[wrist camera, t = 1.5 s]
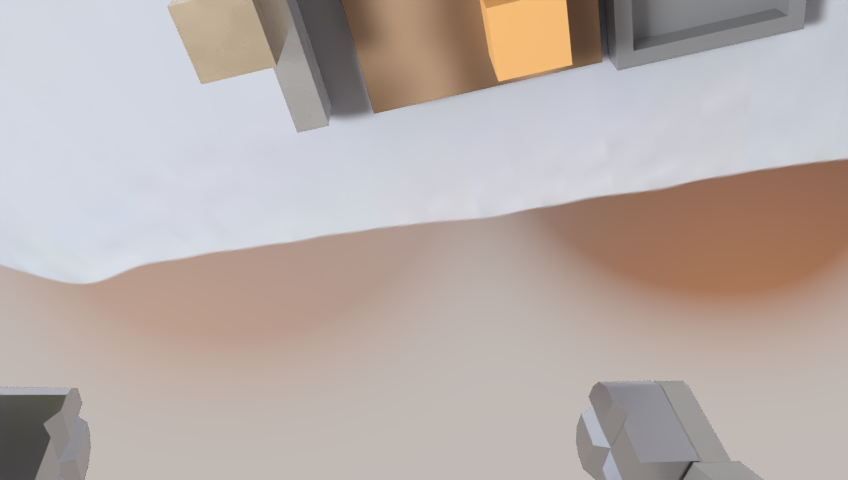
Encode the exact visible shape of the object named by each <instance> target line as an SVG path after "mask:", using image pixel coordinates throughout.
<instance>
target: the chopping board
mask: <svg viewBox="0 0 848 480" xmlns="http://www.w3.org/2000/svg"><path fill="white" fill-rule="evenodd" d="M341 1H342V4H343V8H344V11H345V15H346V18H347V22H348V25H349V29H350V32H351V35H352V39H353V42H354V46H355V49H356V53H357V56H358V60H359V63H360V66H361V70H362V73H363V77H364V80H365V84H366V87H367V91H368V94H369V97H370V101H371V104H372V108H373V111H374V114H375V113H379V112H384V111H388V110H393V109H397V108H401V107H406V106H410V105H415V104H419V103H423V102H428V101H432V100H437V99H441V98H445V97H450V96H454V95H459V94H463V93H467V92H472V91H476V90H481V89H485V88H489V87H494V86H498V85H503V84H507V83H511V82H516V81H520V80H525V79H529V78H533V77H538V76H542V75H547V74H551V73H555V72H560V71H564V70H569V69H573V68H577V67H582V66H586V65H591V64H595V63H599V62H602V50H601V36H600V21H599V7H598V0H566V4H567V14H568V24H569V35H570V45H571V55H572V65H569V66H565V67H561V68H556V69H552V70H547V71H543V72H539V73H534V74H530V75H526V76H521V77H517V78H512V79H508V80H504V81H499V82H498V79H497V76H496V73H495V70H494V67H493V64H492V61H491V58H490V56H489V50H488V45H487V39H486V33H485V27H484V21H483V15H482V10H481V4H480V0H341Z"/></svg>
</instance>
